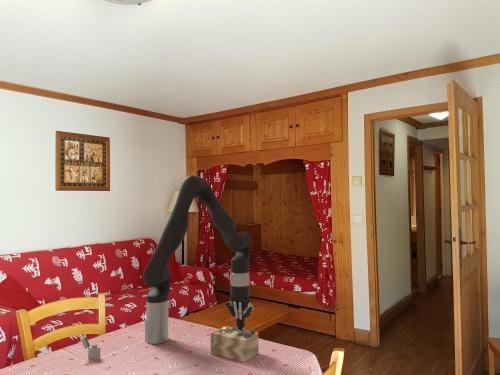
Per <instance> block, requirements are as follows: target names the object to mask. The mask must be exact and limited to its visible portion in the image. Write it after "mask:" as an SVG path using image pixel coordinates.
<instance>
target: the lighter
mask: <svg viewBox="0 0 500 375" xmlns="http://www.w3.org/2000/svg"><path fill="white" fill-rule="evenodd" d="M80 341H81V343H82V346H83V348H84V349H85V350H88V351H87V352H88V354H87V358H88V360H97V359H98V360H99V359H101V346H98V344H97V343H94V344H93V343H92V344H90V342H89V340H88V338H87V336H84V337H82V338H81V339H80Z"/></svg>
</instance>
